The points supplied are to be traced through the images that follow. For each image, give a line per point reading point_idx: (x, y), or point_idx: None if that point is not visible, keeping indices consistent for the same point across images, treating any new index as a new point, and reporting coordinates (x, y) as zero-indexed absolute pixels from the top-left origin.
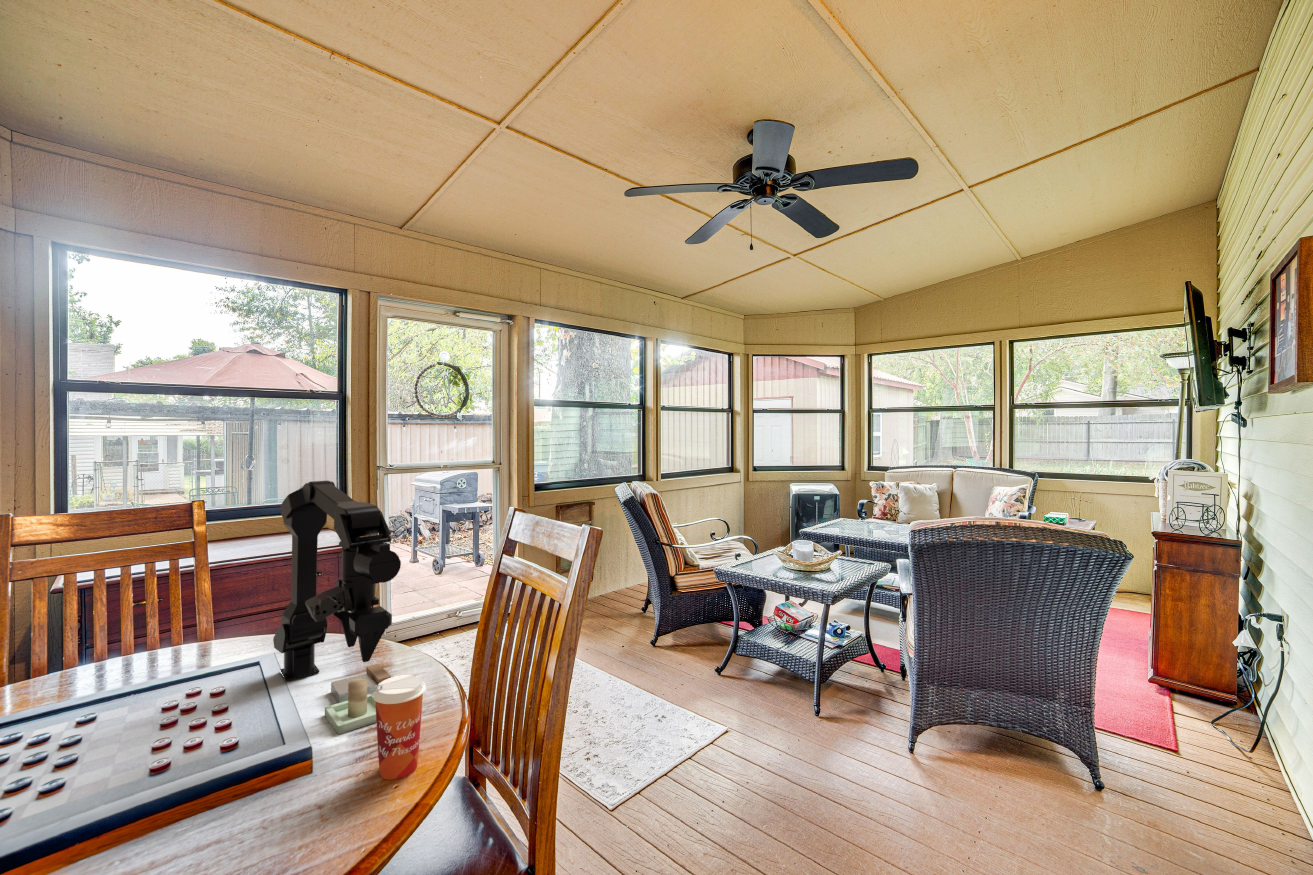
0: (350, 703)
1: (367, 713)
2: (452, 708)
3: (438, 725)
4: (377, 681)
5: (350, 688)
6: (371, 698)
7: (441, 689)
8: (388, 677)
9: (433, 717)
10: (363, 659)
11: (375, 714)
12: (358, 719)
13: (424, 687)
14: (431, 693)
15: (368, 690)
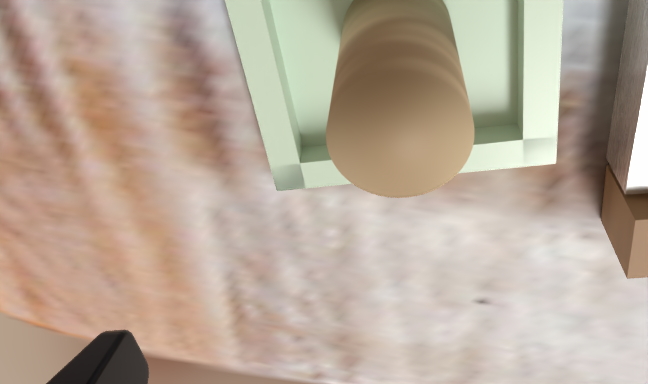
0: (363, 22)
1: None
2: (236, 356)
3: (114, 292)
4: None
5: (358, 71)
6: (520, 129)
7: (438, 369)
8: (627, 263)
9: (192, 294)
10: (79, 359)
11: (258, 119)
12: (238, 31)
13: None
14: (425, 336)
15: (625, 135)
